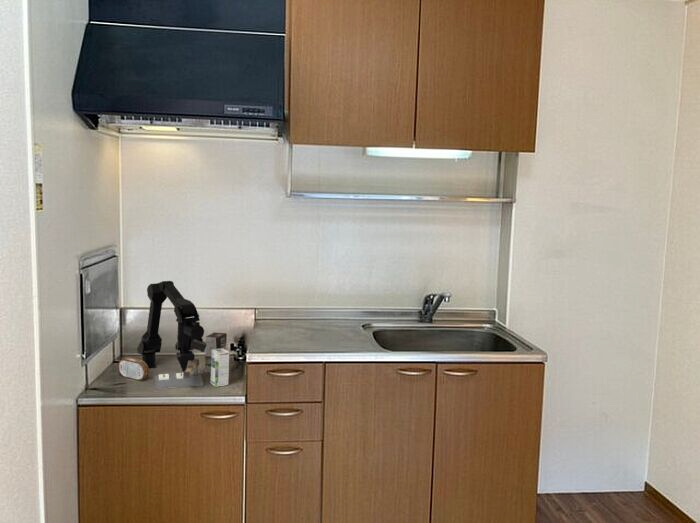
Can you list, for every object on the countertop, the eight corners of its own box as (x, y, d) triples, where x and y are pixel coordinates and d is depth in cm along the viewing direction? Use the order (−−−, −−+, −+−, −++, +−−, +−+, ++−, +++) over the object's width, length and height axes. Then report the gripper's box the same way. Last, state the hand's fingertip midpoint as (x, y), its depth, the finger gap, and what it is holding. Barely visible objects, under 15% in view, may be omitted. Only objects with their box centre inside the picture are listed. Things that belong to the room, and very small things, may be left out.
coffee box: (218, 373, 245) (218, 337, 243) (204, 372, 246) (204, 336, 244) (226, 367, 254) (227, 333, 252) (213, 366, 255) (214, 331, 253)
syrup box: (210, 383, 231) (210, 349, 230) (223, 381, 235) (223, 347, 233) (215, 387, 227) (216, 352, 225) (229, 385, 230) (229, 351, 229)
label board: (154, 378, 234) (154, 366, 234) (199, 375, 241) (200, 363, 240) (155, 389, 221) (155, 376, 221) (203, 385, 228) (203, 373, 227)
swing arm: (191, 363, 239) (191, 358, 239) (199, 363, 239) (199, 358, 239) (181, 378, 219) (181, 373, 219) (190, 378, 220) (190, 373, 219)
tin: (149, 380, 232) (149, 360, 231) (143, 382, 229) (144, 362, 228) (123, 374, 238) (122, 355, 237) (117, 376, 235) (117, 356, 234)
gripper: (208, 339, 219) (207, 377, 221) (202, 327, 236) (202, 363, 238) (178, 340, 215) (177, 379, 217) (175, 328, 232) (174, 364, 234)
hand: (184, 371), depth 227 cm, fingers closed
